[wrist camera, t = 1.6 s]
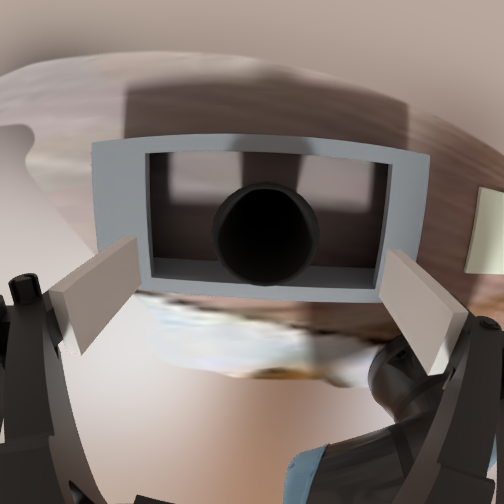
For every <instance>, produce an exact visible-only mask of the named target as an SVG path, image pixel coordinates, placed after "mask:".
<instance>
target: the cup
mask: <svg viewBox="0 0 504 504" xmlns="http://www.w3.org/2000/svg"><path fill="white" fill-rule="evenodd" d="M212 244H213V247H214V251H215V254H216V256H217V258H218V259H219V261H220V263H221V264H222V266H223V267H224V268H225V269H226V270H227V271H228V272H229V273H230V274H231V275H233V276H234V277H236V278H237V279H239V280H240V281H242V282H245V283H248V284H251V285H255V286H263V287H268V286H278V285H281V284H284V283H287V282H289V281H291V280H293V279H294V278H296V277H298V276H299V275H300V274H301V273H302V272H303V271H304V270H305V269H306V268H307V267H308V266H309V265H310V263H311V262H312V260H313V258H314V257H315V254H316V251H317V248H318V245H319V227H318V222H317V218H316V216H315V214H314V212H313V210H312V208H311V206H310V205H309V204H308V203H307V202H306V200H305V199H304V198H303V197H302V196H300V195H299V194H298V193H296V192H295V191H293V190H292V189H290V188H287V187H285V186H282V185H279V184H275V183H258V184H251V185H248V186H246V187H243V188H241V189H238V190H237V191H236V192H234V193H233V194H231V195H230V196H229V197H228V198H227V199H226V200H225V201H224V202H223V203H222V205H221V206H220V207H219V209H218V211H217V213H216V215H215V217H214V221H213V226H212Z"/></svg>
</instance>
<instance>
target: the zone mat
mask: <svg viewBox="0 0 504 504" xmlns="http://www.w3.org/2000/svg"><path fill="white" fill-rule="evenodd" d="M463 272H465V273H474V274H504V193H503V192H499V191H495V190H492V189H488V188H484V187H480V186H479V190H478V198H477V205H476V212H475V219H474V225H473V230H472V236H471V241H470V245H469V250H468V255H467V259H466V263H465V267H464V271H463Z"/></svg>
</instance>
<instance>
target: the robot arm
mask: <svg viewBox="0 0 504 504" xmlns="http://www.w3.org/2000/svg"><path fill="white" fill-rule="evenodd" d="M8 284H9V288H10V291H11V295H12V298H13V301H14V306H6V305H5V302H4V299H3V296H2V295H0V432H1V427H2V423H3V418H4V435H5V443H1V444H0V504H107V502H106V501H105V499H104V498H103V496H102V495H101V493H100V491H99V490H98V487H97V485H96V483H95V480H94V478H93V475H92V473H91V470H90V467H89V464H88V462H87V459H86V456H85V453H84V450H83V447H82V444H81V441H80V437H79V434H78V431H77V428H76V424H75V420H74V417H73V412H72V409H71V404H70V401H69V396H68V391H67V386H66V382H65V376H64V371H63V365H62V360H61V352H60V350H59V347H58V344H59V343H60V342H61V341H62V340H63V342H64V345H65V347H66V350H67V352H70V353H73V354H77V355H82V354H83V353H84V352H85V351H86V349H87V348H88V347H89V345H90V344H91V343H92V342H93V341H94V340H95V338H96V337H97V336H98V335H99V333H100V332H101V331H102V330H103V329H104V327H105V326H106V325H107V324H108V323H109V321H110V320H111V319H112V318H113V317H114V315H115V314H116V313H117V312H118V311H119V310H120V308H121V307H122V306H123V305H124V304H125V302H126V301H127V300H128V299H129V298H130V297H131V296H132V295H133V293H134V292H135V291H136V290H137V289H138V288H139V287H140V285H141V284H142V282H141V274H140V265H139V256H138V245H137V237H136V236H124V237H122V238H121V239H119V240H118V241H116V242H115V243H113V244H112V245H110V246H109V247H107V248H106V249H104V250H103V251H101V252H100V253H98V254H97V255H95V256H94V257H92V258H91V259H90V260H88V261H87V262H85V263H84V264H83V265H81V266H80V267H78V268H77V269H75V270H74V271H73V272H71V273H70V274H69V275H67V276H66V277H64V278H63V279H62V280H60V281H59V282H58V283H57V284H55V285H54V286H52V287H51V288H50V289H49V290H48V291H46V292H45V293H43V294H42V293H41V289H40V285H39V281H38V277H37V275H36V274H34V273H28V274H22V275H19V276H17V277H15V278H13V279H12V280H10V282H9V283H8ZM379 298H380V299H381V301H382V302H383V304H384V305H385V307H386V308H387V310H388V311H389V313H390V314H391V316H392V318H393V319H394V321H395V322H396V324H397V325H398V327H399V328H400V330H401V332H402V333H403V334H402V335H400V336H398V337H397V338H395V339H394V340H393V341H391V342H390V343H389V344H388V345H387V346H386V347H385V348H384V349H383V350H382V351H381V352H380V353H379V354H378V355H377V357H376V358H375V360H374V361H373V363H372V365H371V368H370V370H369V374H368V384H369V388H370V390H371V393H372V396H373V398H374V399H375V401H376V402H377V403H379V404H380V405H381V406H382V407H383V408H384V409H385V411H386V412H387V413H388V414H389V415H390V416H391V417H392V418H393V419H394V422H395V424H394V425H391V426H388V427H385V428H383V429H380V430H377V431H374V432H371V433H368V434H365V435H362V436H358V437H355V438H352V439H348V440H345V441H342V442H338V443H334V444H325V445H324V446H322V447H319V448H315V449H312V450H308V451H304V452H301V453H299V454H298V455H296V456H295V457H294V458H293V459H292V461H291V462H290V464H289V466H288V469H287V473H286V477H285V482H284V491H283V504H491V501H492V498H493V494H494V490H495V482H494V480H492V479H489V478H486V476H487V472H488V471H489V469H490V468H491V467H492V466H493V465H494V464H495V462H496V461H497V491H496V504H504V331H502V329H501V326H500V325H499V324H498V323H497V322H496V321H494V320H493V319H491V318H489V317H485V316H477V317H475V316H474V315H473V314H472V313H471V312H470V311H469V310H468V309H467V308H466V307H465V306H464V305H463V304H462V303H461V302H460V301H458V299H457V298H456V297H455V296H454V295H453V294H451V293H449V292H448V291H447V290H446V289H445V288H443V287H442V286H441V285H440V284H439V283H438V282H437V281H436V280H435V279H434V278H433V277H431V276H430V275H429V274H428V273H427V272H426V271H425V270H424V269H423V268H421V267H420V266H419V265H418V264H417V263H416V262H415V261H413V260H412V259H411V258H410V257H409V256H408V255H406V254H405V253H404V252H403V251H402V250H400V249H388V252H387V257H386V263H385V268H384V273H383V278H382V283H381V287H380V292H379ZM134 504H174V503H169V502H164V501H160V500H156V499H152V498H148V497H144V496H141V495H137V496H136V499H135V501H134Z"/></svg>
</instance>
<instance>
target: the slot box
mask: <svg viewBox="0 0 504 504" xmlns="http://www.w3.org/2000/svg"><path fill="white" fill-rule="evenodd" d="M187 151H245V152H272V153H290V154H305V155H317V156H328V157H338V158H347V159H356V160H364V161H371V162H379V163H385V164H389V165H388V178H387V189H386V199H385V208H384V216H383V223H382V231H381V238H380V244H379V250H378V256H377V262H376V268H351V267H328V266H308V267H307V268H306V269H305V270H304V271H303V272H302V273H301V274H300V275H299V276H298V277H296V278H294V279H293V280H291V281H289V282H287V283H284V284H281V285H278V286H268V287H263V286H255V285H251V284H248V283H245V282H242V281H240V280H239V279H237V278H236V277H234V276H233V275H231V274H230V273H229V272H228V271H227V270H226V269H225V268H224V267H223V266H222V264H221V263H220V261H210V260H192V259H175V258H159V257H153V246H152V231H151V211H150V175H149V153H159V152H187ZM429 166H430V155H427V154H422V153H417V152H412V151H407V150H402V149H396V148H391V147H385V146H378V145H372V144H365V143H358V142H350V141H342V140H333V139H323V138H312V137H300V136H285V135H264V134H185V135H165V136H150V137H138V138H128V139H118V140H109V141H101V142H94V143H92V184H93V202H94V215H95V226H96V236H97V245H98V252H99V253H100V252H101V251H103V250H104V249H106V248H107V247H109V246H110V245H112V244H113V243H115V242H116V241H118V240H119V239H121V238H122V237H124V236H136V237H137V245H138V256H139V265H140V274H141V282H142V284H141V285H140V287H139V288H138V289H137V290H146V291H156V292H166V293H177V294H189V295H202V296H215V297H229V298H245V299H263V300H284V301H309V302H348V303H383V302H382V301H381V299H380V298H379V292H380V287H381V283H382V278H383V273H384V268H385V263H386V257H387V252H388V249H400V250H402V251H403V252H404V253H405V254H406V255H408V256H409V257H410V258H411V259H412V260H413V261H415V262H416V259H417V254H418V249H419V243H420V238H421V232H422V226H423V219H424V213H425V205H426V197H427V188H428V178H429Z"/></svg>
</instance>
